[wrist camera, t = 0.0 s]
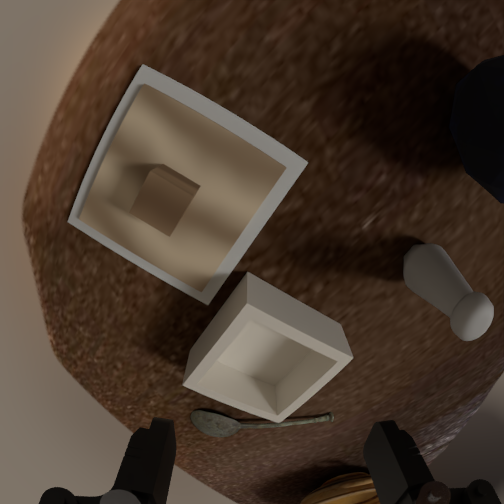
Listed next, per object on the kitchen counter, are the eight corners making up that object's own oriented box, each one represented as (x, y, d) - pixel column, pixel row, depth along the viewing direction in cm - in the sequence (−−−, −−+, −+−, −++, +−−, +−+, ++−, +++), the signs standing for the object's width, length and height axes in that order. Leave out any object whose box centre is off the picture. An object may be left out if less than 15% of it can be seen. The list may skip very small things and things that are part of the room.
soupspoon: (187, 400, 43) (194, 423, 46) (183, 418, 40) (191, 439, 43) (335, 400, 42) (328, 423, 45) (338, 418, 39) (331, 440, 42)
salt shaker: (396, 287, 34) (448, 360, 22) (394, 242, 32) (457, 308, 20) (437, 275, 33) (496, 339, 21) (438, 231, 31) (508, 287, 19)
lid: (146, 84, 24) (128, 78, 20) (285, 166, 28) (292, 175, 23) (82, 216, 29) (59, 233, 25) (202, 288, 33) (195, 314, 28)
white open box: (247, 271, 33) (247, 303, 27) (340, 324, 36) (353, 357, 30) (190, 350, 37) (182, 385, 32) (276, 388, 40) (279, 423, 34)
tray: (144, 65, 24) (142, 64, 24) (307, 161, 28) (308, 162, 28) (70, 219, 30) (67, 221, 30) (208, 302, 34) (208, 305, 34)
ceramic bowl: (377, 493, 61) (383, 516, 53) (290, 507, 61) (292, 532, 54) (412, 441, 49) (423, 471, 42) (296, 462, 49) (300, 497, 42)
